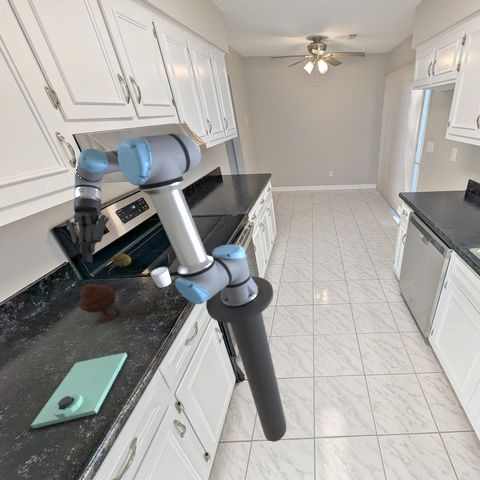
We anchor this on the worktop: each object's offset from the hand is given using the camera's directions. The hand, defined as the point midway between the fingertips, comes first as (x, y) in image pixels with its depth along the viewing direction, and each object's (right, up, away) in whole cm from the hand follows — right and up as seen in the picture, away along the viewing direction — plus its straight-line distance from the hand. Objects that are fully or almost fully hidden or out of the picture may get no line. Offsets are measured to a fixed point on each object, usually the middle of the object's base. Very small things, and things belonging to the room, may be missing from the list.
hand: (87, 262), depth 88 cm
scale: (+15, -34, -17) cm, 41 cm away
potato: (-20, -6, +43) cm, 48 cm away
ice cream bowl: (0, -22, +9) cm, 24 cm away
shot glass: (+11, -12, +27) cm, 31 cm away
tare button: (+16, -35, -23) cm, 45 cm away
